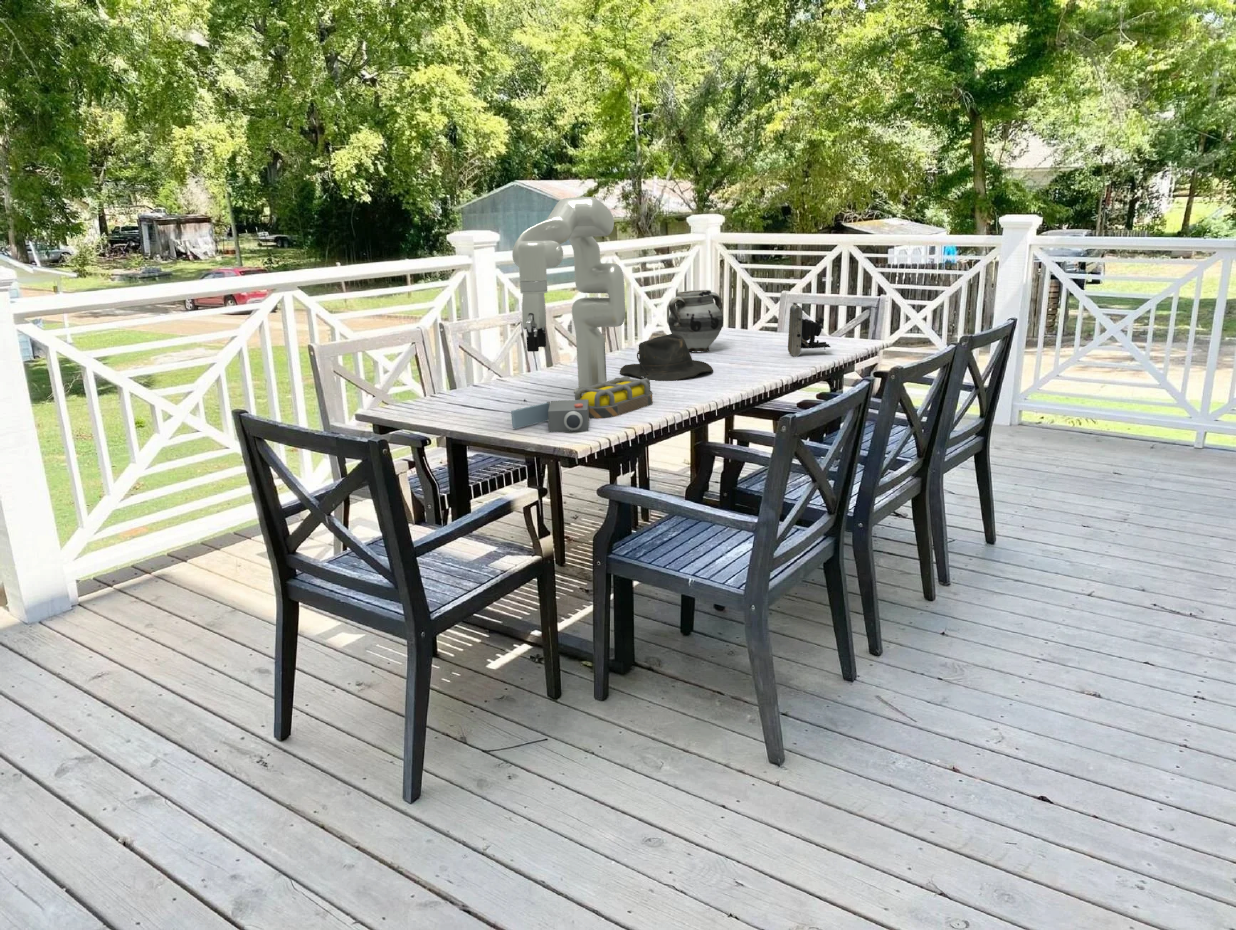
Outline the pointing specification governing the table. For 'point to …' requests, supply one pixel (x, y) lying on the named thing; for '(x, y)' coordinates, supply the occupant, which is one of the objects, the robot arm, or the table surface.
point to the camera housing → (568, 415)
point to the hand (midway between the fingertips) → (536, 349)
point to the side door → (530, 415)
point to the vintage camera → (803, 332)
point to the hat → (665, 360)
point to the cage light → (616, 397)
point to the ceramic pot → (696, 318)
